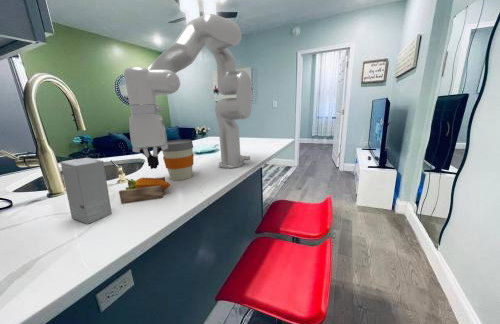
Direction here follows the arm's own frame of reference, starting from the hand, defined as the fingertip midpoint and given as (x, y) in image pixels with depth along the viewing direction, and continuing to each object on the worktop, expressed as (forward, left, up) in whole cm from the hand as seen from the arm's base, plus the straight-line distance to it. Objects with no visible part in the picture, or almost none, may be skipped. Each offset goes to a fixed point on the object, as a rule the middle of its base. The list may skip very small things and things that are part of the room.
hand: (154, 167), depth 69 cm
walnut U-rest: (+4, 0, -9) cm, 10 cm away
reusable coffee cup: (-7, -16, -9) cm, 20 cm away
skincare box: (+15, +11, -9) cm, 21 cm away
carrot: (-5, +2, -6) cm, 8 cm away
